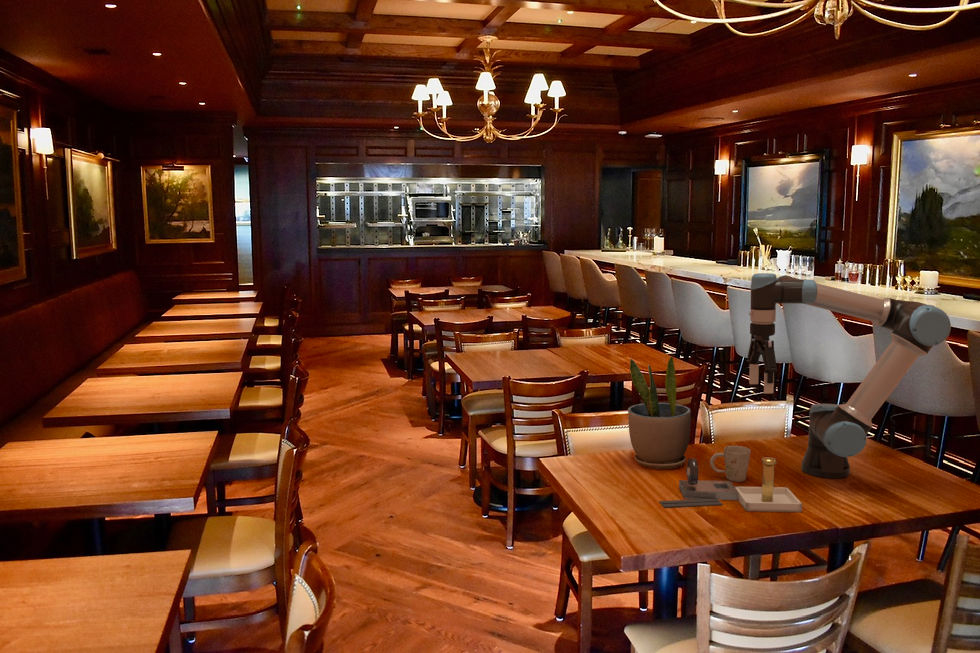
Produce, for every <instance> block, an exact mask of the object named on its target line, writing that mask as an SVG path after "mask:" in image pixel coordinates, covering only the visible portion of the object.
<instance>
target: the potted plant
mask: <svg viewBox="0 0 980 653" xmlns="http://www.w3.org/2000/svg"><path fill="white" fill-rule="evenodd" d="M673 356H674V355H671V356H670V358H669V359H668V362H667V366H666V373H665V383H664V386H665V387H664V388H665V391H666V396H667V399H668V402H659V395H658V391H657V390H658V389H657V386H656V383H655V379H654V376H653V371H652V367H651V365H650V364H648V366H647V367H648V375H649V383H650V384H649V386H648V383H647V382H646V379H645V377H644V374H643V373H642V371H641V369H640V368H639V367H638V365H637V364H636V362H635V360H634V359H632V358H630V359H629V360H630V361H629V370H630V371H629V373H630V377H631V382H632V385H633V386H634V388H635V389H636V391H637V392H638V394H639V397H641V399H642V401H643V403H639V404H638V403H637V404H634V405H631V406H629V407H628V408H627V417H628V418H627V419H628V432H629V433H628V434H629V438H630V440H629V441H630V444H631V446H632V449H633V451H634V454H635V456H634V460H635V461H636V463H637V464H638V465H640V466H642V467H646V468H648V469H655V470H670V469H672V470H673V469H676V468H681V467H682V466H683V465H684V464H685V463H687V458H686V457H687V456H685V454H686V452H687V449H688V447H689V442H690V436H691V417H692V416H691V415H692V414H691V412H692V411H691V409H690V407H687V406H685V405H681V404H678V403H677V378H676V369H675V362H674V357H673Z"/></svg>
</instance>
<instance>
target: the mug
mask: <svg viewBox="0 0 980 653" xmlns="http://www.w3.org/2000/svg"><path fill="white" fill-rule="evenodd" d="M719 457H721V458H724V466H725V469H718V468H717V467H716V466H715V463H714V462H715V460H716V459H717V458H719ZM750 458H751V449H750V448H748V447H746V446H740V445H728V446H727V445H726V446H725V447H723V452H716V453H714V454H713V455H712V456H711V457H710V459H709V465H710V467H711V469H712V470H713V471H714V472H716V473H720V474H721V473H723V474H725V477H726V479H727V481H731V482H736V483H740V482H745V481H746V479H747V473H748V468H749V463H750Z"/></svg>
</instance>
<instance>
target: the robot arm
mask: <svg viewBox="0 0 980 653" xmlns="http://www.w3.org/2000/svg"><path fill="white" fill-rule="evenodd" d="M777 304H778V305H779V304H780V305H781V304H796V305H797V304H800V305H801V304H802V305H805V306H806V305H807V306H811V307H815V308H819V309H823V310H827V311H831V312H835V313H839V314H842V315H846V316H850V317H854V318H858V319H862V320H865V321H870V322H874V323H875V325H876V326H877V327H881V328H885V329H887V330H889V331H892V332H891V333H890V334H891V342H890V344H889V345H888V347H886V349H885V350H884V352H882V354H881V355H880V357H879V359H878V360H877V361H876V362H875V364H874V365H873V366H872V367H871V370H870V371H869V372H868V373H867V374H866V376H865V377H864V378H863V380H862V381H861V383H860V384H859V385H858V387H857V388H856V390H855V391H854V392H853V393H852V395H851V396H850V398H849V399H848V401H847V402H845V403H842V404H837V403H836V404H835V403H814V404H812V405H811V406H810V408H809V412H808V413H809V421H808V422H809V425H808V443H807V444H808V445H807V449H806V451H805V453H804V456H803V458H802V461H801V470H802V471H803V472H804V473H805V474H808V475H811V476H814V477H820V478H826V479H842V478H846V477H849V476H850V474H851V467H850V462H849V457H850V458H851V457H854V456H857V455H858V454H860V453H861V452H862V451H863V450H864V449H865V447H866V445H867V438H868V437H867V435H868V433H869V432H870V431H871V429H872V428H873V424H872V422H873V421H872V419H873V418H874V416H875V415H876V414H877V412H878V411H879V410H880V408H881V407H882V406H883V404H884V403H885V401H886V400H887V399H888V398H889V396H890V395H891V394H892V392H894V390H895V388H896V387H897V386H898V384H899V383H900V382H901V380H902V379H903V378H904V376H905V375H906V374H907V372H908V371H909V370H910V368H911V367H912V366H913V364H914V363H915V362H916V360H917V359H918V358H919V357H923V356H926V355H928V353H929V352H930V351H931V349H932V348H933V347H934V346H938V345H940V344H942V343H943V342H945V341H946V340H947V339H948V337H949V336H950V333H951V330H952V325H951V320H950V317H949V315H948V314H947V313H946V312H945V311H944V310H943V309H941V308H939V307H937V306H935V305H932V304H926V303H923V302H920V301H919V302H918V301H914V300H913V301H911V300H904V299H903V300H902V299H895V298H892V297H885V298H878V297H873V296H869V295H866V294H861V293H857V292H853V291H851V290H850V291H849V290H846V289H842V288H836V287H833V286H829V285H825V284H820V283H818V282H816V281H815V280H814V279H807V278H804V279H801V278H796V277H793V276H791V275H786V274H785V275H781V276H777V275H776V274H775V273H768V272H766V273H763V272H761V273H759V272H758V273H754V274H753V275H752V276H751V283H750V311H749V312H748V315H749V317H750V319H749V320H750V321H751V322H750V324H749V334H750V343H749V349H748V352H747V353H748V354H747V357H746V361H748V363H749V375H748V376H749V377H748V378H749V381H748V383H749V385H758V384H759V367H760V365H759V364H760V361H759V360H760V357H762V362H763V366H764V370H763V376H764V377H763V378H764V380H763V381H764V382H763V394H774V387H775V386H774V385H775V383H774V382H775V373H777V372H778V366H777V365H778V364H777V359H776V353H775V342H774V340H770V337H772V336H775V334H776V324H775V322H777V321H776V317H777V316H776V314H777V310H776V307H777Z"/></svg>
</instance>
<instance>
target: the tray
mask: <svg viewBox="0 0 980 653" xmlns="http://www.w3.org/2000/svg"><path fill="white" fill-rule="evenodd" d="M735 488H736V489H737V491H738V492H739V494H738V500H737V501H738V502H739V503H740V504H741V506H742V507H743V509H744V510H745V511H746V512H768V513H769V512H776V513H777V512H778V513H779V512H780V513H802V512H803V503H802V502H801V501H800V500H799V499H798V498H797V497H796V495H795V494H794V493H793V492H792V491H791V490H790V488H789V487H786V486H785V487H784V486H783V487H782V486H781V487H780V486H778V487H777V486H773V502H762V501H761V499H762V486H735Z"/></svg>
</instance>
